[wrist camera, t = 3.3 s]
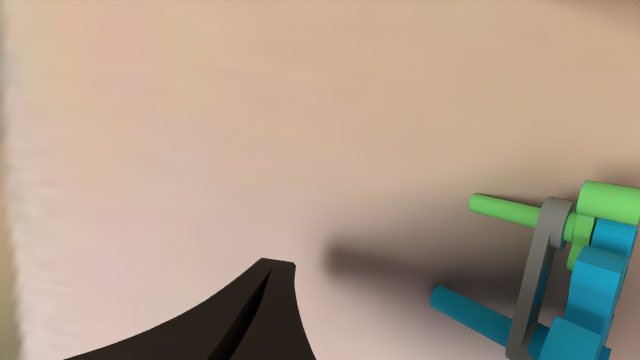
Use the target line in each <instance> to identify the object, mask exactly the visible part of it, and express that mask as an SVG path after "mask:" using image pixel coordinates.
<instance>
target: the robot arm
mask: <svg viewBox="0 0 640 360" xmlns="http://www.w3.org/2000/svg"><path fill="white" fill-rule="evenodd" d="M295 270H296V265H295V264H294V263H293V262H287V261H280V260H273V259H267V258H261V259H259V260H258V261H257V262H256V263H254V264H253V265H252V266H251V267H250V268H248V269H247V270H246V271H245V272H244V273H242V274H241V275H240V276H239V277H237V278H236V279H235V280H233V281H232V282H231V283H230V284H228V285H227V286H226V287H224V288H223V289H221V290H220V291H218V292H217V293H216V294H214V295H213V296H211V297H210V298H208V299H207V300H205V301H204V302H202V303H200V304H199V305H197V306H195V307H194V308H192V309H190V310H188V311H186V312H185V313H183V314H181V315H179V316H177V317H175V318H173V319H171V320H169V321H166V322H164V323H162V324H160V325H158V326H156V327H154V328H152V329H150V330H147V331H145V332H142V333H140V334H137V335H135V336H133V337H130V338H127V339H125V340H122V341H119V342H117V343H114V344H111V345H108V346H106V347H103V348H100V349H96V350H93V351H90V352H87V353H84V354H80V355H77V356H74V357H71V358H68V359H64V360H316V358H315V356H314V354H313V352H312V349H311V347H310V344H309V342H308V339H307V337H306V334H305V331H304V328H303V325H302V321H301V318H300V314H299V310H298V305H297V300H296V294H295V286H294V279H295Z"/></svg>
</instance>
